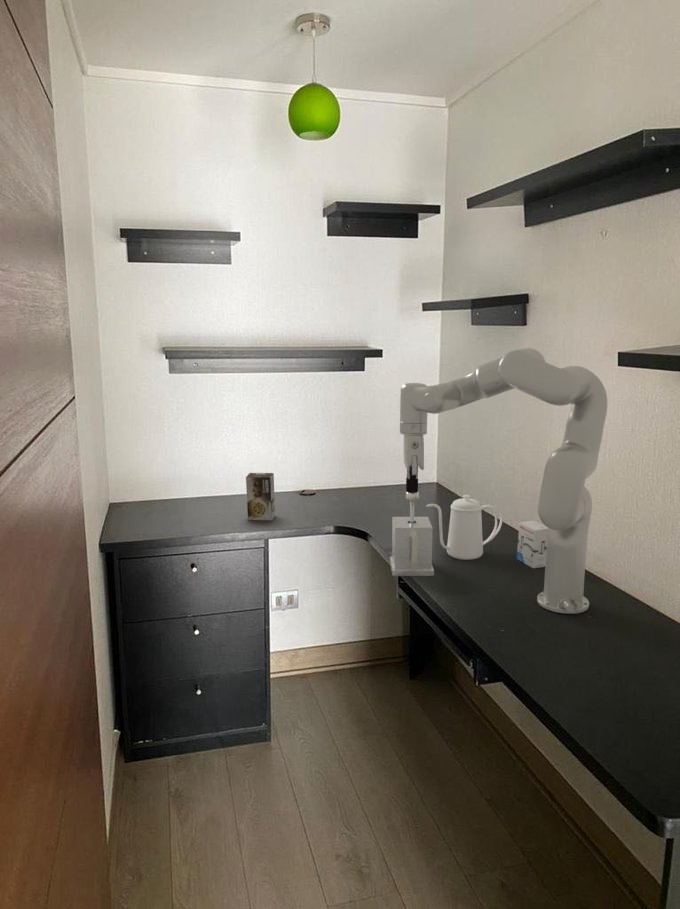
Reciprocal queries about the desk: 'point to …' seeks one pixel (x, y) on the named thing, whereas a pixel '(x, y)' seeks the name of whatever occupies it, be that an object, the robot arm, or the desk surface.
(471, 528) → the coffeepot
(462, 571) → the desk surface
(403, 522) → the grey cube on plinth
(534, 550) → the ink box
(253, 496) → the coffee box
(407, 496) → the plunger
